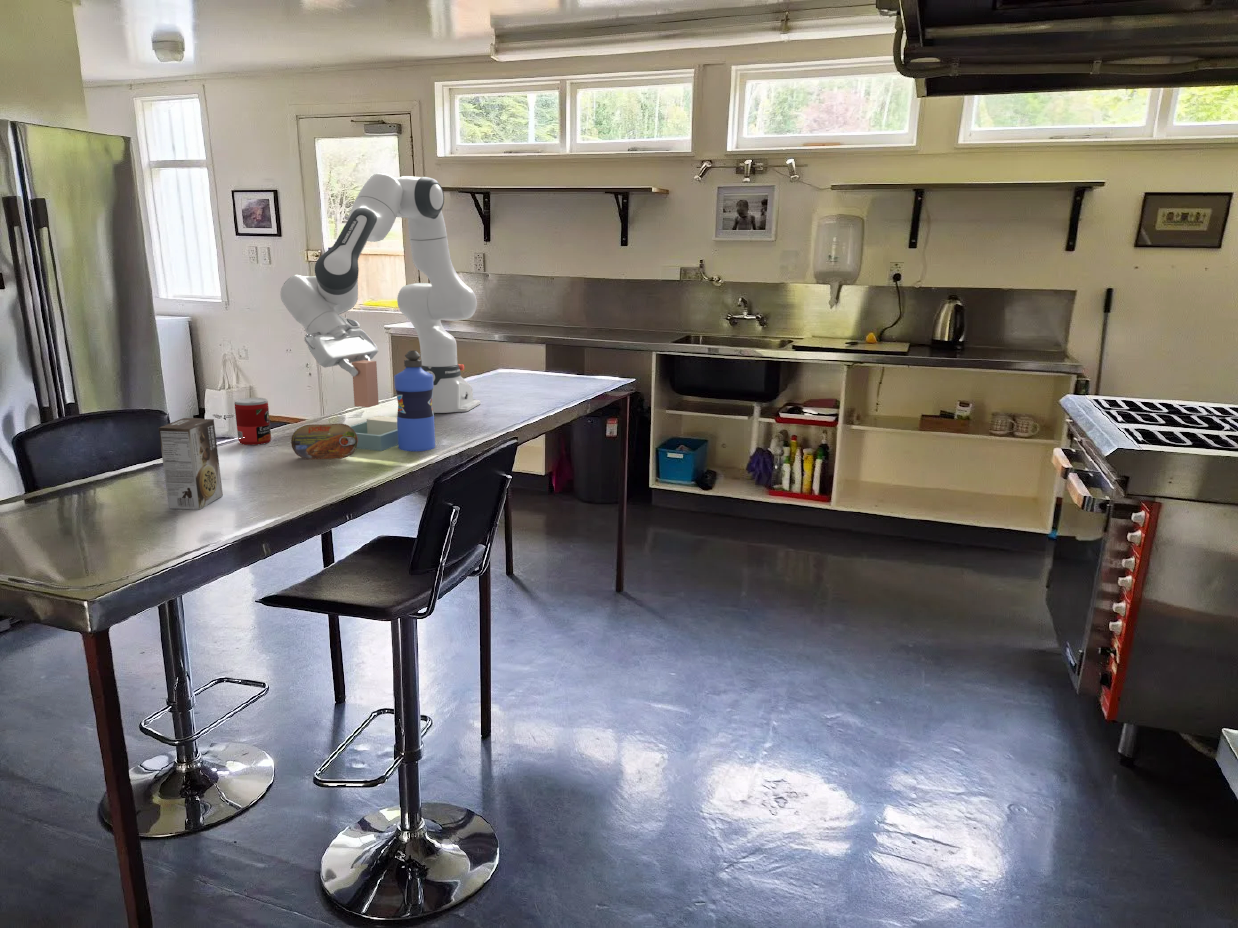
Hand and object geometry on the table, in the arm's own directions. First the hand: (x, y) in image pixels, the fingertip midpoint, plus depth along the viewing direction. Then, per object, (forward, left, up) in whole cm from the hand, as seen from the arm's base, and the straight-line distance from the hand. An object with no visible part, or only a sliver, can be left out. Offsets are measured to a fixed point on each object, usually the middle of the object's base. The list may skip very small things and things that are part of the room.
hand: (364, 373), depth 201 cm
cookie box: (+52, -3, -19) cm, 55 cm away
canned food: (+7, -30, -19) cm, 36 cm away
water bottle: (-2, +13, -19) cm, 23 cm away
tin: (+13, -3, -19) cm, 23 cm away
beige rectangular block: (-8, 0, -18) cm, 20 cm away
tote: (-4, 0, -19) cm, 19 cm away
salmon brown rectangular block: (0, 0, -8) cm, 8 cm away
